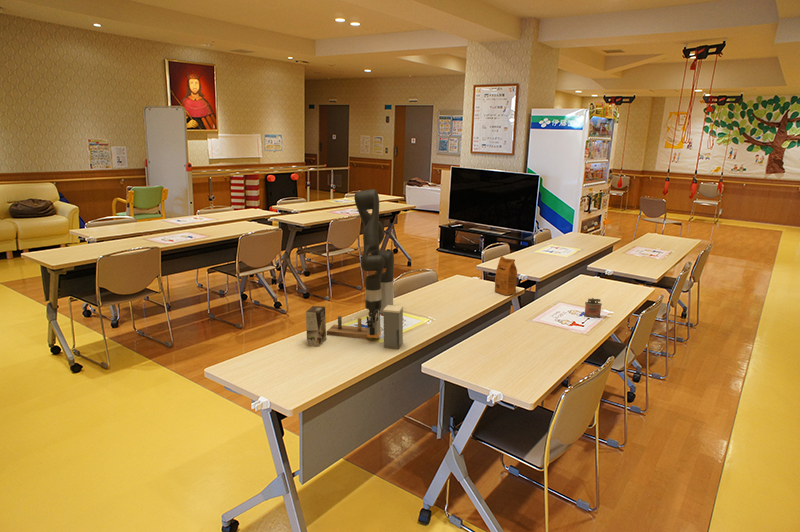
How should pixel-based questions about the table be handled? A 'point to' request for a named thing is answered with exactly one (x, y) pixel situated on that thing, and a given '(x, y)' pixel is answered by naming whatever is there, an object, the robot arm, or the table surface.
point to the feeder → (393, 326)
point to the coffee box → (316, 325)
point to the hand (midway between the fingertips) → (373, 332)
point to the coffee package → (506, 277)
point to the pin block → (348, 330)
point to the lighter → (593, 308)
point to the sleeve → (377, 329)
